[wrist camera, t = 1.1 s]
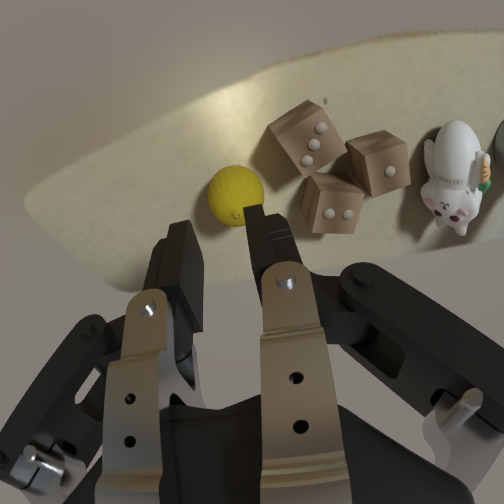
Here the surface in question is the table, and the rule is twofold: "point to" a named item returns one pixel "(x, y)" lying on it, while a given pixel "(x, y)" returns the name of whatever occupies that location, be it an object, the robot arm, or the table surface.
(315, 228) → the block two dots
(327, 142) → the block three dots
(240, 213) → the lemon
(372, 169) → the block one dot
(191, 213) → the table surface
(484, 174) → the cat figurine
